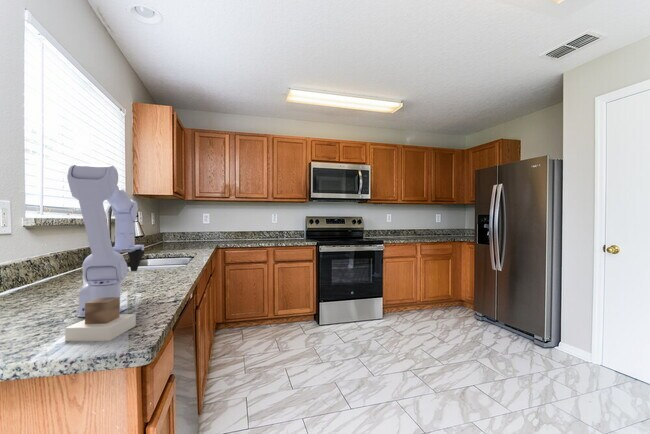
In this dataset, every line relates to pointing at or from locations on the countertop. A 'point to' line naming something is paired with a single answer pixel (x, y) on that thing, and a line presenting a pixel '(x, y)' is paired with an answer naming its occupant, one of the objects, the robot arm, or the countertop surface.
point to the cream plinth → (100, 329)
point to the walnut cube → (102, 310)
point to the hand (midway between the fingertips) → (124, 272)
